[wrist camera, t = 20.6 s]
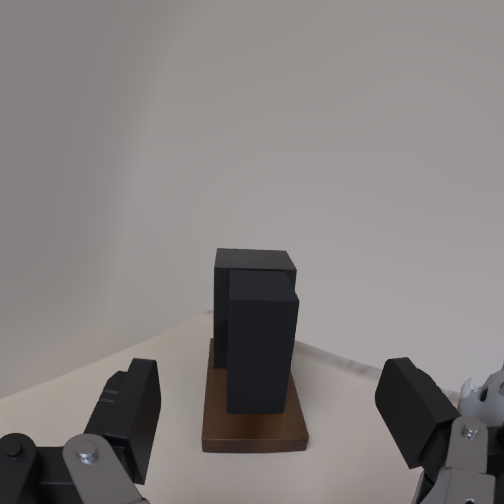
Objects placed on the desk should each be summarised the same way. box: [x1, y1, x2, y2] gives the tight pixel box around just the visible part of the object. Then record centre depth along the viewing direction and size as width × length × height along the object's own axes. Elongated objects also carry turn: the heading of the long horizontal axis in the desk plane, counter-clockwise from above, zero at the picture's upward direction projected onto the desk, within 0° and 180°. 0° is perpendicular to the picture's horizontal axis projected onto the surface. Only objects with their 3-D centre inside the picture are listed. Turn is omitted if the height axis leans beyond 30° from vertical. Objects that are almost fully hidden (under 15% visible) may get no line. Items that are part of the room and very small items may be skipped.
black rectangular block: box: [227, 270, 299, 414], centre depth 22 cm, size 4×5×9 cm
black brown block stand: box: [202, 248, 309, 453], centre depth 23 cm, size 7×13×10 cm, turn 3°
